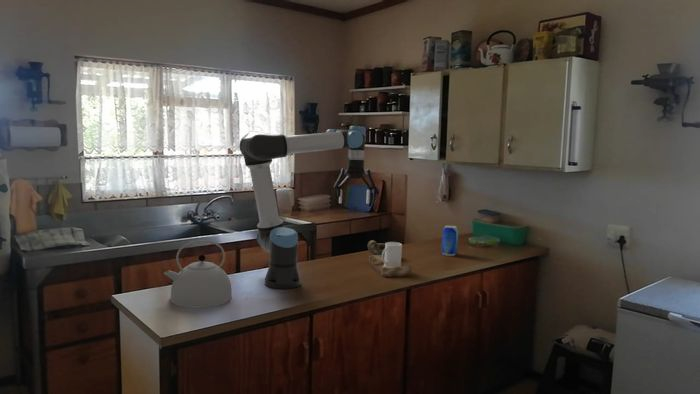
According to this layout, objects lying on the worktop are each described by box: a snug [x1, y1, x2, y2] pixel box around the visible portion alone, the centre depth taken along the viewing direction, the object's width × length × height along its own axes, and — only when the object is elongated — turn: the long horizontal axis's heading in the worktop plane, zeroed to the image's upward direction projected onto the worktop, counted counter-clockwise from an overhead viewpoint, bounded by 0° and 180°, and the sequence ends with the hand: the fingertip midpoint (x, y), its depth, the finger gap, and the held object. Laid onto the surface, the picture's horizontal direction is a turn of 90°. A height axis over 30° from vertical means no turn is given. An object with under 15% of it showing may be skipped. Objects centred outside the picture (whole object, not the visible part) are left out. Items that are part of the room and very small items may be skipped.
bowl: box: [367, 239, 385, 256], centre depth 269 cm, size 14×18×10 cm
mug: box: [382, 241, 403, 267], centre depth 244 cm, size 12×8×12 cm
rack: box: [368, 255, 412, 277], centre depth 247 cm, size 14×22×4 cm, turn 15°
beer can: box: [440, 224, 459, 257], centre depth 282 cm, size 8×8×16 cm
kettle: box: [163, 240, 233, 309], centre depth 194 cm, size 25×23×22 cm
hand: (354, 203), depth 243 cm, fingers open, 13 cm apart
